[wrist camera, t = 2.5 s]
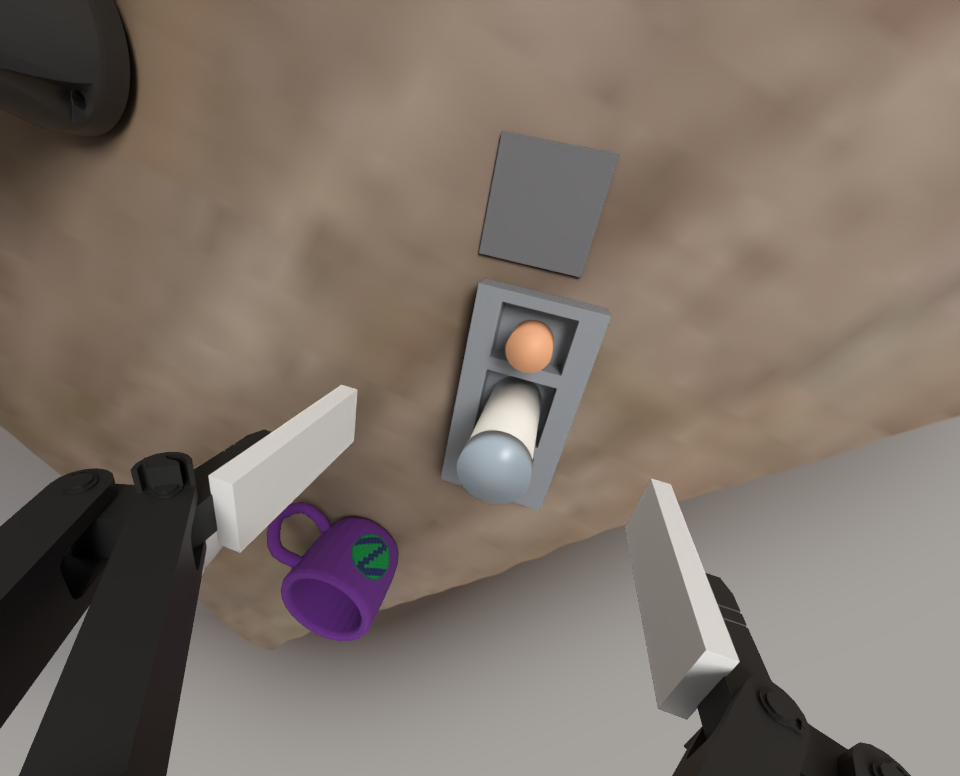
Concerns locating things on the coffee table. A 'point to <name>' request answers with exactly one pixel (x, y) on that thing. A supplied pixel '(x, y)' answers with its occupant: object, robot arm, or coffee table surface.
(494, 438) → the cylinder
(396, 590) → the coffee table surface
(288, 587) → the mug
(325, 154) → the coffee table surface
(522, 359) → the orange oval ball
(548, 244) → the mat
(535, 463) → the tray
